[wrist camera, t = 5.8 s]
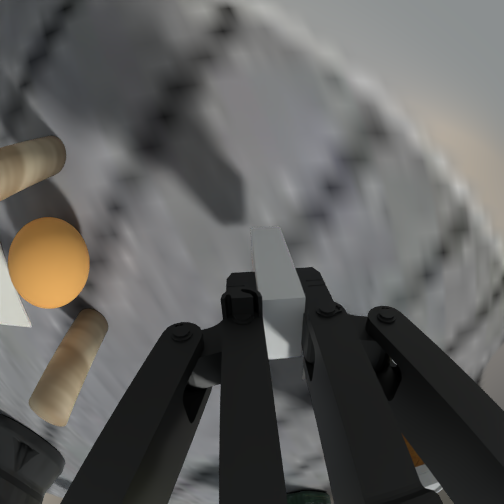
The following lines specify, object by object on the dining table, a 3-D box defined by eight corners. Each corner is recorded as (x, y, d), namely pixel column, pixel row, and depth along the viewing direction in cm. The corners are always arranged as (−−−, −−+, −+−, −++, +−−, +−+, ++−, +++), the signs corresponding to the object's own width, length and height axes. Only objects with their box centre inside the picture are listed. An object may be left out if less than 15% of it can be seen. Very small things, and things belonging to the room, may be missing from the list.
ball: (22, 298, 17) (32, 339, 13) (-3, 225, 14) (-5, 249, 11) (86, 271, 20) (111, 302, 17) (68, 199, 18) (88, 214, 14)
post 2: (84, 334, 21) (41, 421, 13) (74, 308, 20) (21, 395, 12) (112, 336, 21) (73, 429, 13) (102, 308, 20) (53, 402, 12)
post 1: (38, 178, 16) (-58, 230, 8) (33, 140, 15) (-70, 173, 7) (68, 172, 16) (-30, 223, 8) (63, 131, 15) (-43, 159, 7)
